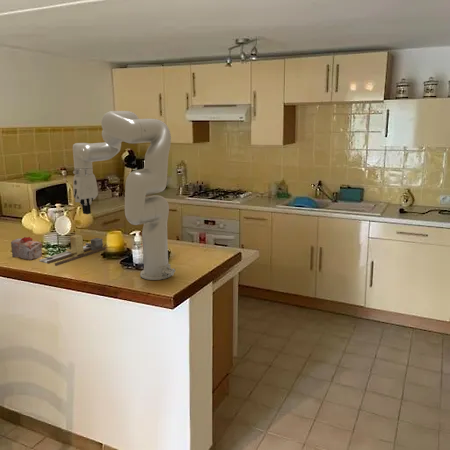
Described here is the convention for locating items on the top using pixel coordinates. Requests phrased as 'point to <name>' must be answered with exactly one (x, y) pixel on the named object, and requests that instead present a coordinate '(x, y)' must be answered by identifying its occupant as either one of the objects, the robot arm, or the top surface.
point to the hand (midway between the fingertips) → (86, 213)
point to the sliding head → (76, 245)
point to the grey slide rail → (95, 246)
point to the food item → (26, 248)
